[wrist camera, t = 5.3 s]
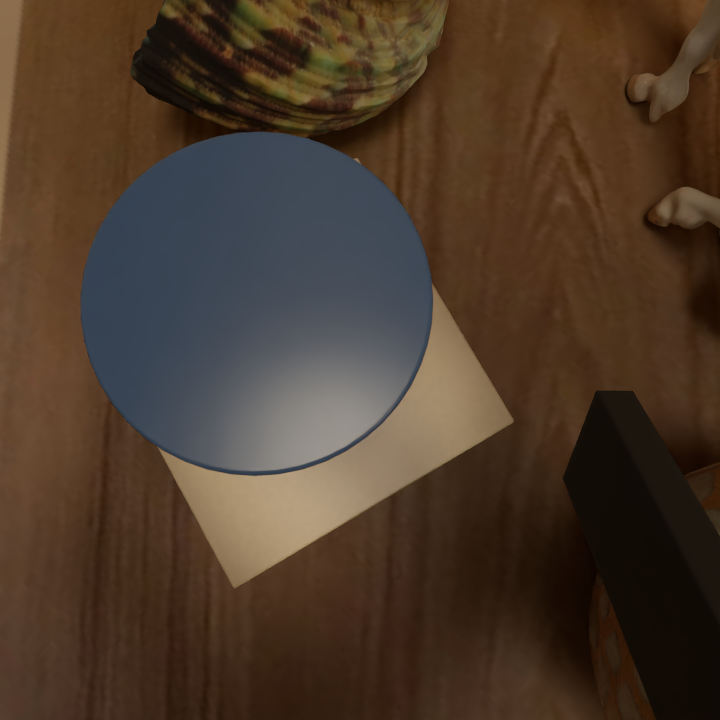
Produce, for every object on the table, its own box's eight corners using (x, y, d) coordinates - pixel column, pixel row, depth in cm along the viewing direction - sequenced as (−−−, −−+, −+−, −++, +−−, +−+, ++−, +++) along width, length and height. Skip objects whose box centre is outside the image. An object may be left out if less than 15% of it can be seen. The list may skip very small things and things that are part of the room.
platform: (251, 561, 23) (233, 590, 19) (123, 323, 23) (79, 302, 19) (485, 422, 24) (515, 421, 20) (353, 200, 24) (357, 156, 21)
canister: (263, 483, 19) (183, 546, 9) (179, 330, 20) (16, 230, 10) (416, 395, 20) (499, 362, 10) (331, 247, 20) (325, 72, 10)
